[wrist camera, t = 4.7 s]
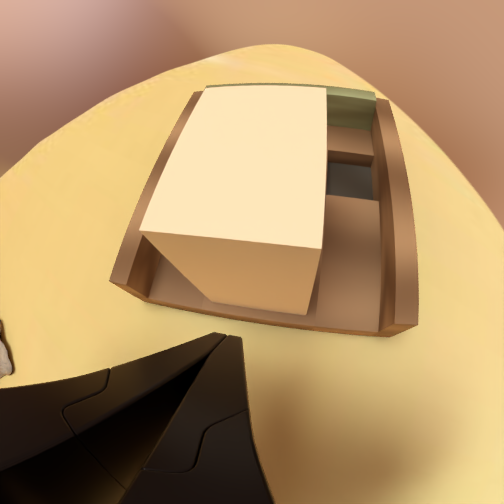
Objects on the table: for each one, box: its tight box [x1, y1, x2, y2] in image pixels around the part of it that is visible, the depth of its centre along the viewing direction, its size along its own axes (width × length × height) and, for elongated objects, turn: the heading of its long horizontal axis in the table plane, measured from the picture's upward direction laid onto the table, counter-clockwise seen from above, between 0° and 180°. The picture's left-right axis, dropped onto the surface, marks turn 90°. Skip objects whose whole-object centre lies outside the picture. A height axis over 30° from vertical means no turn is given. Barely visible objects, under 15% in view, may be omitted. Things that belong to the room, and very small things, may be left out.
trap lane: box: [109, 83, 419, 337], centre depth 16 cm, size 16×15×4 cm
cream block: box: [139, 85, 327, 315], centre depth 12 cm, size 7×5×8 cm
